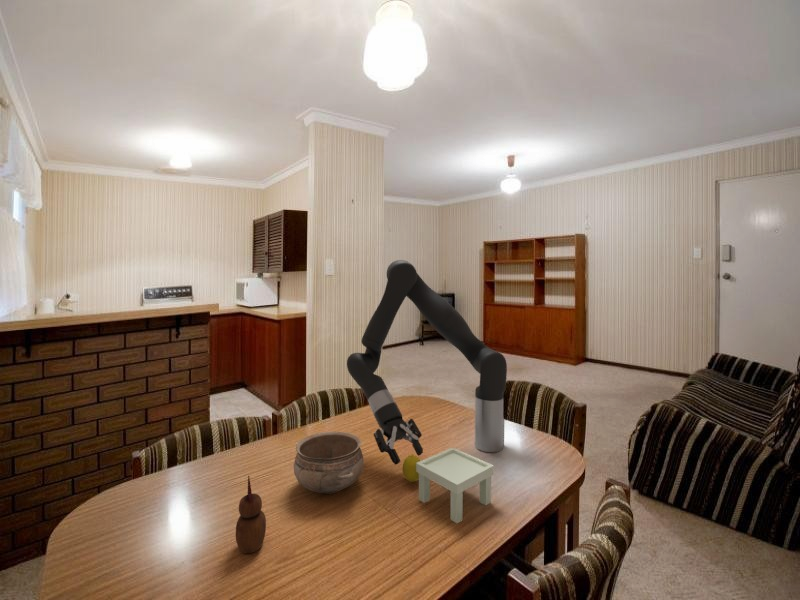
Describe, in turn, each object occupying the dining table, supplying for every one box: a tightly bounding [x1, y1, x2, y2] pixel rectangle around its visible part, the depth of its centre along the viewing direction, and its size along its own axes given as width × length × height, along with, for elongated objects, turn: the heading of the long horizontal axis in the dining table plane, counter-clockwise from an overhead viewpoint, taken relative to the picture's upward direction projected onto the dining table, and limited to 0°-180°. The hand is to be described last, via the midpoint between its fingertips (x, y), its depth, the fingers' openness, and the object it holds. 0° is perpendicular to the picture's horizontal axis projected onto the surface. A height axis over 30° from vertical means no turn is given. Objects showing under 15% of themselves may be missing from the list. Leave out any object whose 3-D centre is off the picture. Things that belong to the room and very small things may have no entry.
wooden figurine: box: [235, 475, 267, 554], centre depth 84 cm, size 7×6×15 cm
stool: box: [416, 447, 495, 524], centre depth 101 cm, size 14×14×10 cm
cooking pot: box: [293, 431, 365, 495], centre depth 108 cm, size 25×19×12 cm
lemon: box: [401, 454, 421, 483], centre depth 111 cm, size 6×6×8 cm
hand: (409, 458), depth 111 cm, fingers open, 8 cm apart
